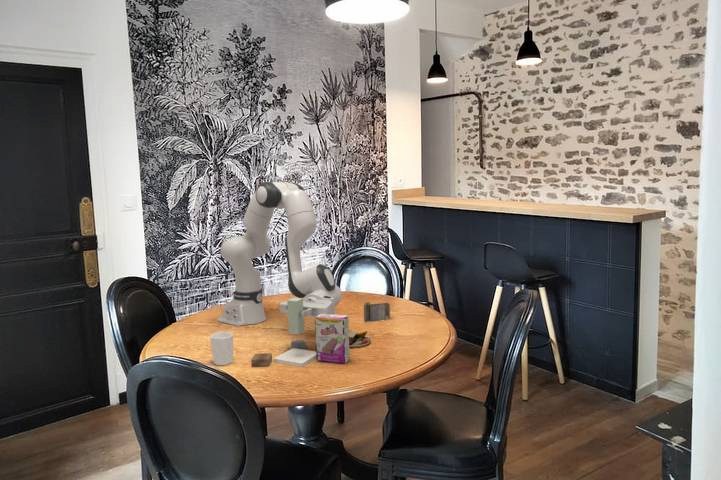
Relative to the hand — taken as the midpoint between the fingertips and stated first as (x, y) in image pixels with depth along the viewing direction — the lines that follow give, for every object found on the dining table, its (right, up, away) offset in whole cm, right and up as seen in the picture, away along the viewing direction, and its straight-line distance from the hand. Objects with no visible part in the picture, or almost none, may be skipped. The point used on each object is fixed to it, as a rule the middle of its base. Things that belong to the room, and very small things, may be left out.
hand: (294, 313), depth 187 cm
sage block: (+1, -7, +2) cm, 7 cm away
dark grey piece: (+31, -10, +48) cm, 58 cm away
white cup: (-26, -18, +2) cm, 31 cm away
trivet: (+1, -17, +3) cm, 17 cm away
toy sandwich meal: (+20, -14, +18) cm, 31 cm away
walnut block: (-11, -18, -1) cm, 21 cm away
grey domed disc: (0, -15, +15) cm, 21 cm away
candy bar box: (+14, -17, 0) cm, 22 cm away
